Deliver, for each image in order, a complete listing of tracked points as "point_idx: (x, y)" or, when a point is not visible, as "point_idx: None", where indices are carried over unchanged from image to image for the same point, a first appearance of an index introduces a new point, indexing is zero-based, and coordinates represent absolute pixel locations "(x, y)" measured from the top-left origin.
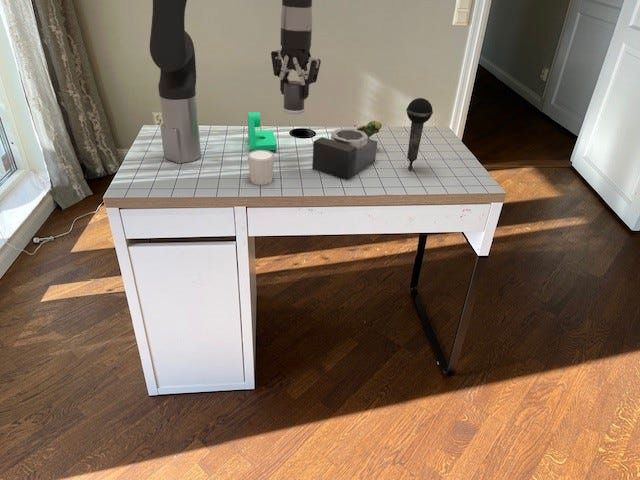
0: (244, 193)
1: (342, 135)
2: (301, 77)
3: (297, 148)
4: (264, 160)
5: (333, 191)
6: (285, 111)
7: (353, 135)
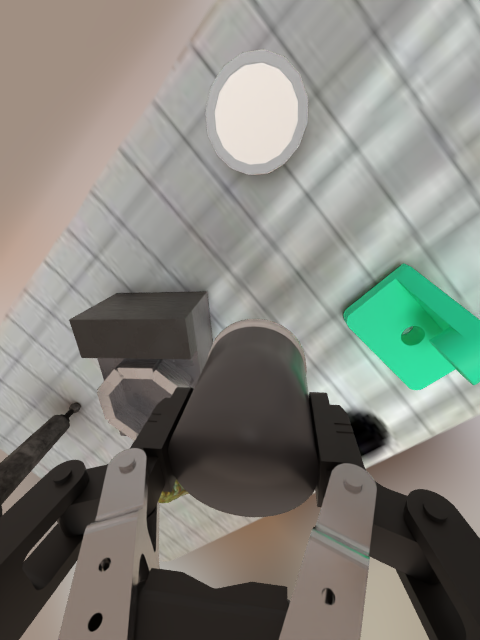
0: (237, 14)
1: None
2: (123, 503)
3: (310, 363)
4: (212, 85)
5: (94, 225)
6: (267, 321)
7: None
